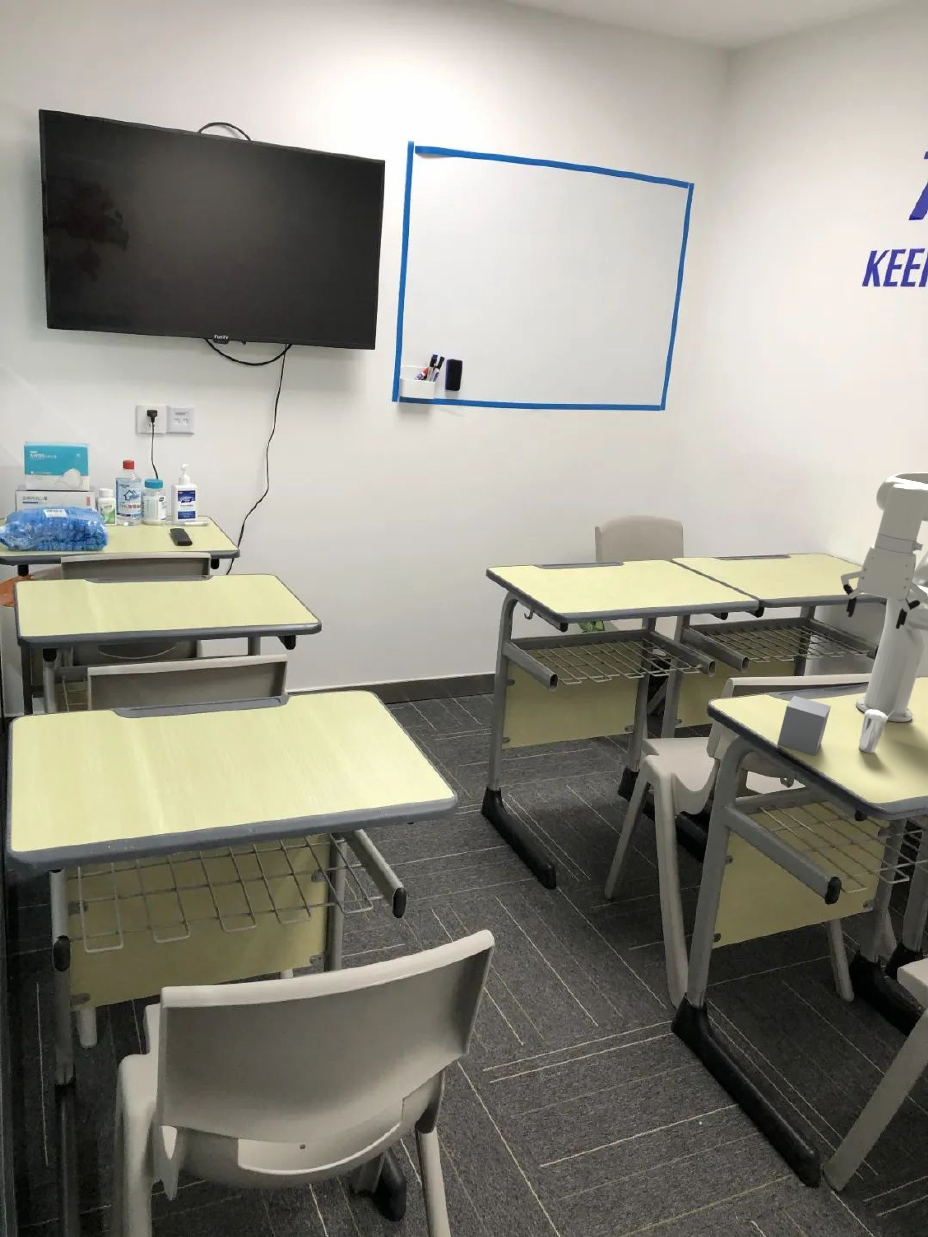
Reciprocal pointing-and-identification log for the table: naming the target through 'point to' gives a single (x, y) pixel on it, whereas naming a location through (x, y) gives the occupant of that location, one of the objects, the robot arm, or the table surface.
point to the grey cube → (804, 725)
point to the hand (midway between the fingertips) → (873, 621)
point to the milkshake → (872, 730)
